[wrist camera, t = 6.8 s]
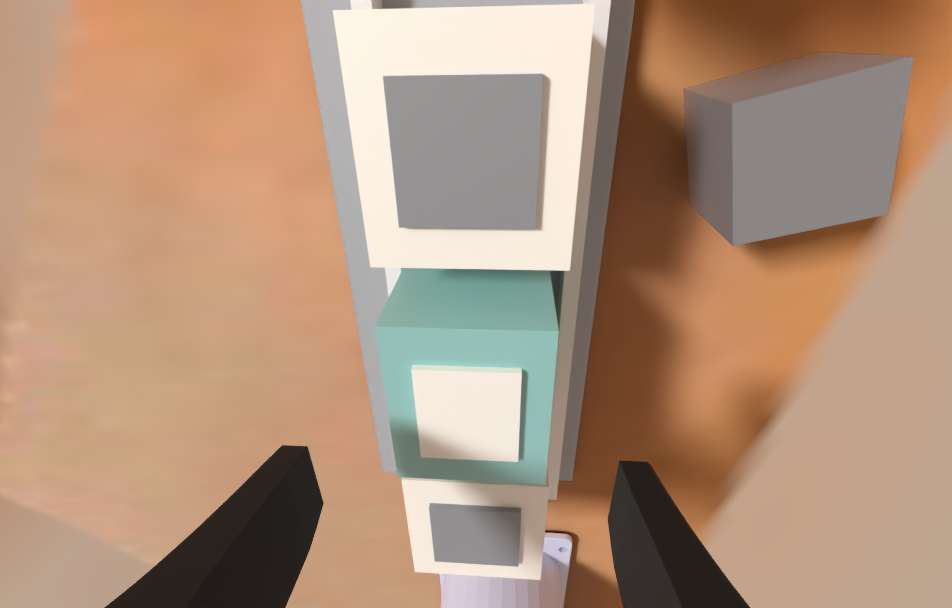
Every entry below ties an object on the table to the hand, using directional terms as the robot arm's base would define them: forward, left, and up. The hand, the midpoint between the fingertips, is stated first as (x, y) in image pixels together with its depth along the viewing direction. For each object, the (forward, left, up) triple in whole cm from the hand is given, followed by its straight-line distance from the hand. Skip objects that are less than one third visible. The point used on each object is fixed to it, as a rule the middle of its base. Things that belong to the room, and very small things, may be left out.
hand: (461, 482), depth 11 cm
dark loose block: (+6, -9, -10) cm, 15 cm away
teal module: (0, 0, -9) cm, 9 cm away
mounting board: (0, +1, -10) cm, 10 cm away
